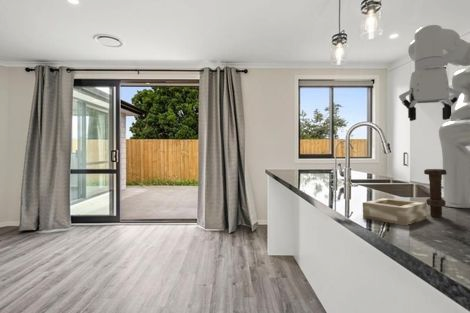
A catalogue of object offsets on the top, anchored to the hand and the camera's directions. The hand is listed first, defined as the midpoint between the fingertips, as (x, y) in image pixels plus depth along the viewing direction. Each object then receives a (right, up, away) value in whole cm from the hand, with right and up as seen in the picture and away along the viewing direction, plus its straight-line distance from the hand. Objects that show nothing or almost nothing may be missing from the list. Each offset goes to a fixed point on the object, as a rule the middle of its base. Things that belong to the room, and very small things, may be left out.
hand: (429, 119), depth 91 cm
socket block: (-12, -31, -1) cm, 34 cm away
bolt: (+2, -31, -1) cm, 31 cm away
